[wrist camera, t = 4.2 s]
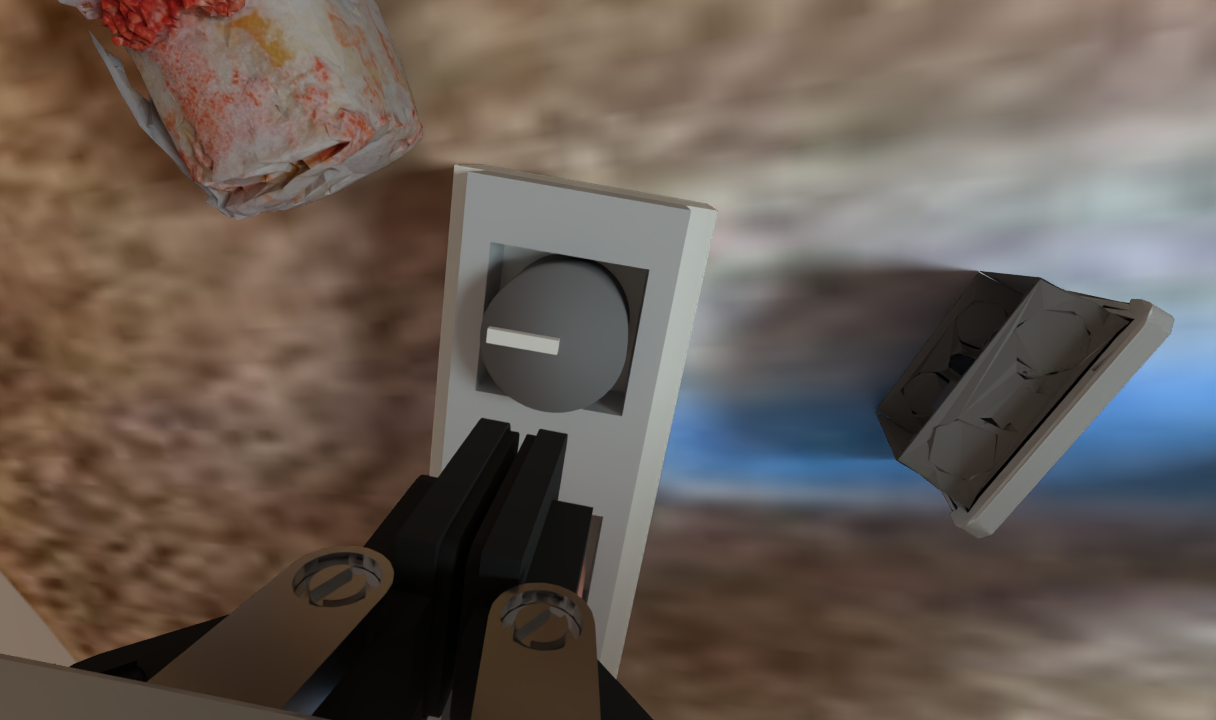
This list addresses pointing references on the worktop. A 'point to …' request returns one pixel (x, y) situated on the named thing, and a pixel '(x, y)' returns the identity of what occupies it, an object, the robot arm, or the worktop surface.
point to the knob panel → (649, 382)
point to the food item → (264, 93)
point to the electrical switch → (1013, 389)
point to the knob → (557, 334)
